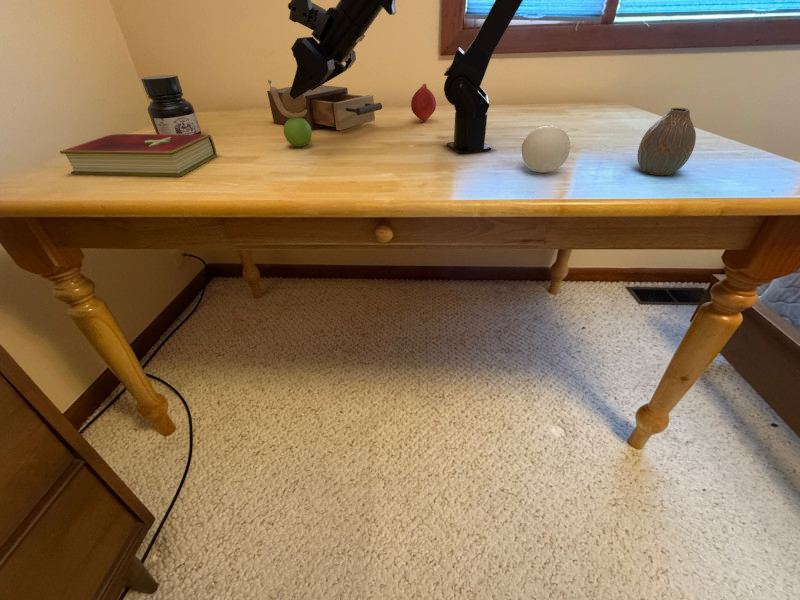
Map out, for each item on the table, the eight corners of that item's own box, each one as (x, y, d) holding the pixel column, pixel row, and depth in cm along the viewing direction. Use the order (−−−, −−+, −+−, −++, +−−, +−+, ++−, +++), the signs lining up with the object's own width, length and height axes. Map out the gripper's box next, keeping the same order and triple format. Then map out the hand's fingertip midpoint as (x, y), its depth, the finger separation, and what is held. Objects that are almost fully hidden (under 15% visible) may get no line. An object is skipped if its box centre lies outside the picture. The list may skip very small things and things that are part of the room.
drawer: (389, 122, 88) (388, 96, 85) (354, 133, 81) (352, 105, 78) (335, 114, 97) (332, 90, 94) (300, 123, 90) (296, 98, 87)
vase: (682, 182, 55) (709, 116, 50) (629, 174, 58) (649, 111, 53) (683, 168, 60) (708, 106, 55) (634, 162, 63) (653, 103, 58)
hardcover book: (121, 154, 77) (111, 132, 74) (217, 155, 74) (210, 132, 71) (72, 174, 67) (58, 149, 65) (180, 176, 64) (170, 150, 62)
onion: (408, 123, 90) (407, 85, 85) (414, 118, 94) (414, 81, 90) (432, 124, 89) (433, 85, 84) (437, 119, 93) (438, 81, 88)
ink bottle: (163, 146, 80) (138, 81, 73) (152, 139, 86) (128, 77, 79) (209, 137, 85) (190, 75, 78) (196, 131, 91) (177, 72, 84)
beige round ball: (540, 161, 65) (547, 118, 61) (573, 173, 60) (584, 127, 56) (508, 168, 62) (514, 124, 58) (540, 181, 57) (549, 134, 53)
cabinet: (350, 119, 96) (347, 87, 91) (312, 130, 88) (306, 95, 84) (312, 113, 103) (307, 83, 99) (273, 122, 95) (266, 90, 91)
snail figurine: (279, 145, 78) (265, 78, 71) (310, 141, 80) (300, 75, 73) (284, 152, 74) (269, 81, 67) (316, 147, 76) (306, 78, 69)
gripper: (331, -23, 67) (285, 52, 76) (291, -33, 53) (240, 62, 61) (378, 30, 71) (329, 96, 79) (352, 35, 56) (296, 116, 65)
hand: (301, 92), depth 71 cm, fingers open, 9 cm apart
